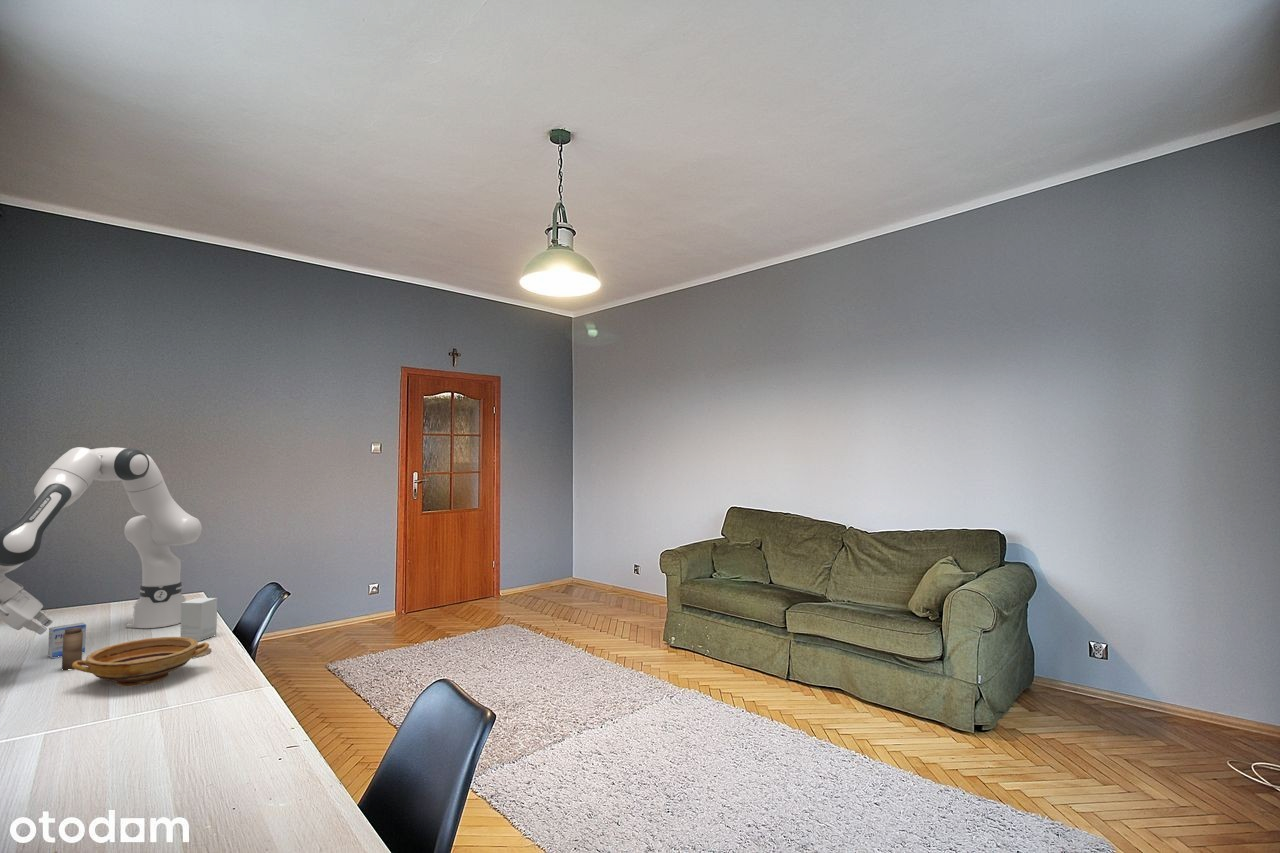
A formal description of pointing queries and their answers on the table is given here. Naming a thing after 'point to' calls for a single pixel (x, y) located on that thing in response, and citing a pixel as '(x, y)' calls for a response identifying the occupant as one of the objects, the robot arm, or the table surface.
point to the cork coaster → (204, 652)
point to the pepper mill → (72, 647)
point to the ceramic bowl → (141, 659)
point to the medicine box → (57, 638)
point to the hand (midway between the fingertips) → (47, 628)
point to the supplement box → (199, 618)
